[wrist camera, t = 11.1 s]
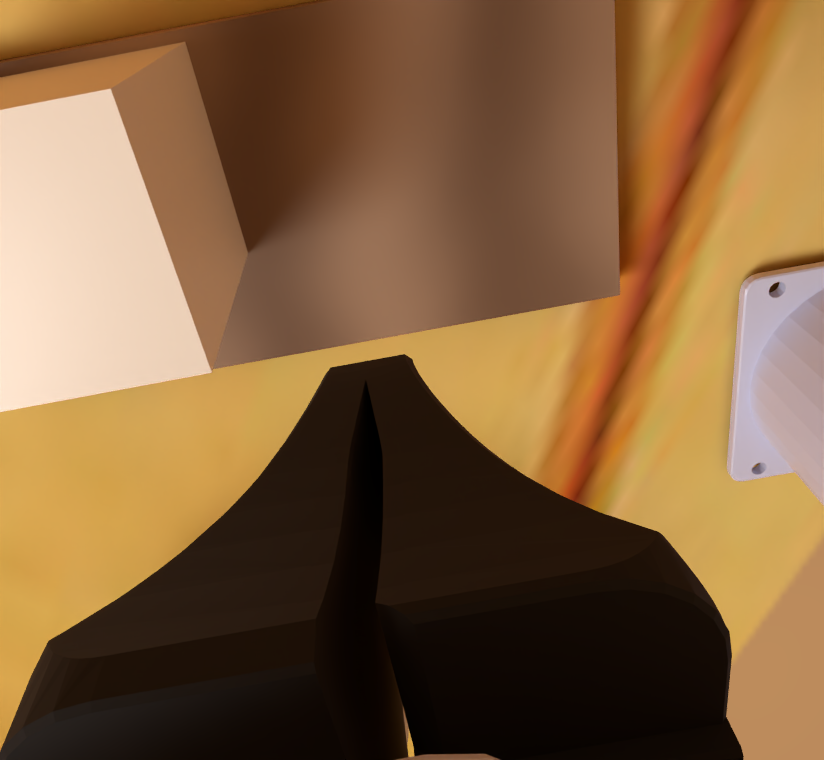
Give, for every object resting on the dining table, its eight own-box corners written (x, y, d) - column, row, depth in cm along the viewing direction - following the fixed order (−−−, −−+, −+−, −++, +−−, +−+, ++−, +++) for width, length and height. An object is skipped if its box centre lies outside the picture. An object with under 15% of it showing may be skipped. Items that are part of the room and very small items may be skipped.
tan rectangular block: (185, 41, 18) (110, 88, 12) (248, 253, 20) (211, 372, 15) (-37, 84, 18) (-215, 151, 12) (56, 289, 20) (-53, 421, 15)
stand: (600, -53, 18) (613, -53, 17) (609, 281, 23) (619, 295, 22) (-114, 81, 18) (-137, 88, 18) (37, 386, 23) (25, 403, 22)
